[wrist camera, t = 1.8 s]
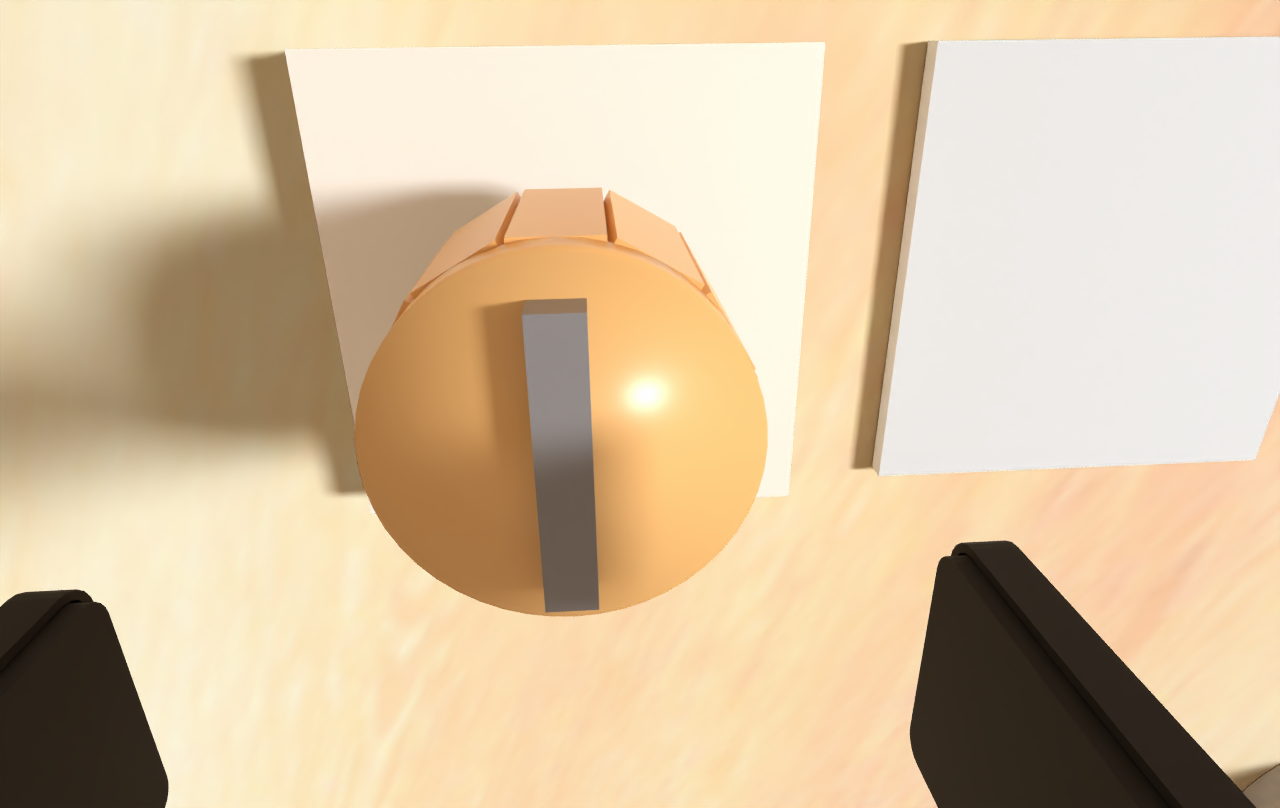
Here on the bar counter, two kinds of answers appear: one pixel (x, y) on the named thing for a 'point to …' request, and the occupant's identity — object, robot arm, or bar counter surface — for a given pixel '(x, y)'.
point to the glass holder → (1265, 790)
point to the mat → (1087, 257)
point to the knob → (562, 410)
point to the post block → (569, 172)
